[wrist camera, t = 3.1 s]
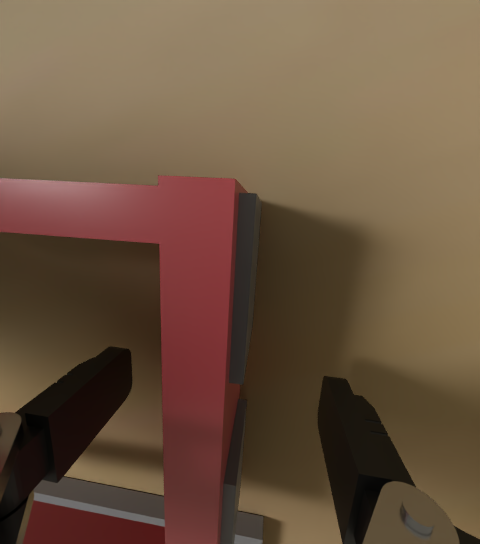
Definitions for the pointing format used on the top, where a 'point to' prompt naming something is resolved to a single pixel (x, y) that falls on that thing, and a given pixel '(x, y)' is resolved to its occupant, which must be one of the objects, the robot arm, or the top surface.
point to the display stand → (130, 505)
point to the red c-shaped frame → (169, 339)
